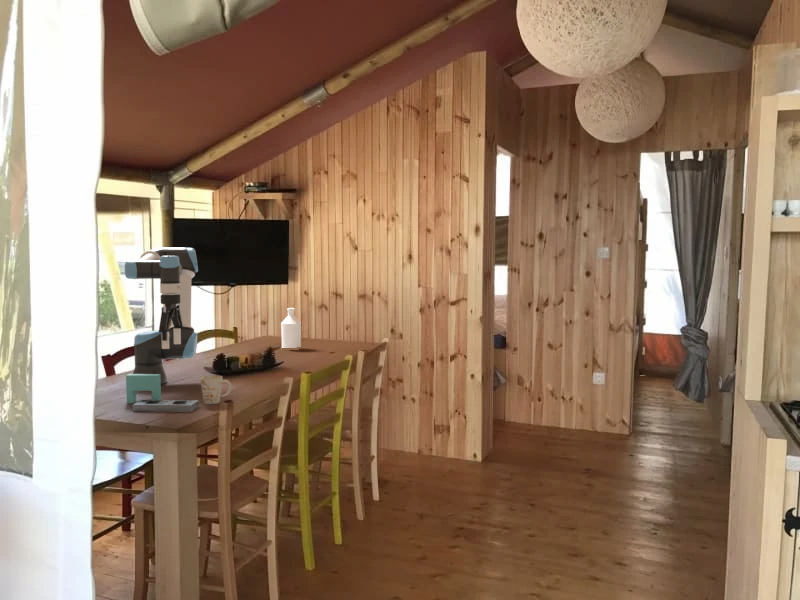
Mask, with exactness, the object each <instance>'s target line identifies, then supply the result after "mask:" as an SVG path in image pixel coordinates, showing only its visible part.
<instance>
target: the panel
mask: <svg viewBox="0 0 800 600" xmlns="http://www.w3.org/2000/svg"><path fill="white" fill-rule="evenodd" d="M125 382H126V383H125V384H126V385H125V386H126V387H125V388H126V389H125V390H126V403H127V404H135V403H137V392H139V391H142V392H144V391H146V392H147V391H148V392H151V400H162V386H161V385H162V384H161V375H160V374H133V373H128V374H126V375H125Z"/></svg>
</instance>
